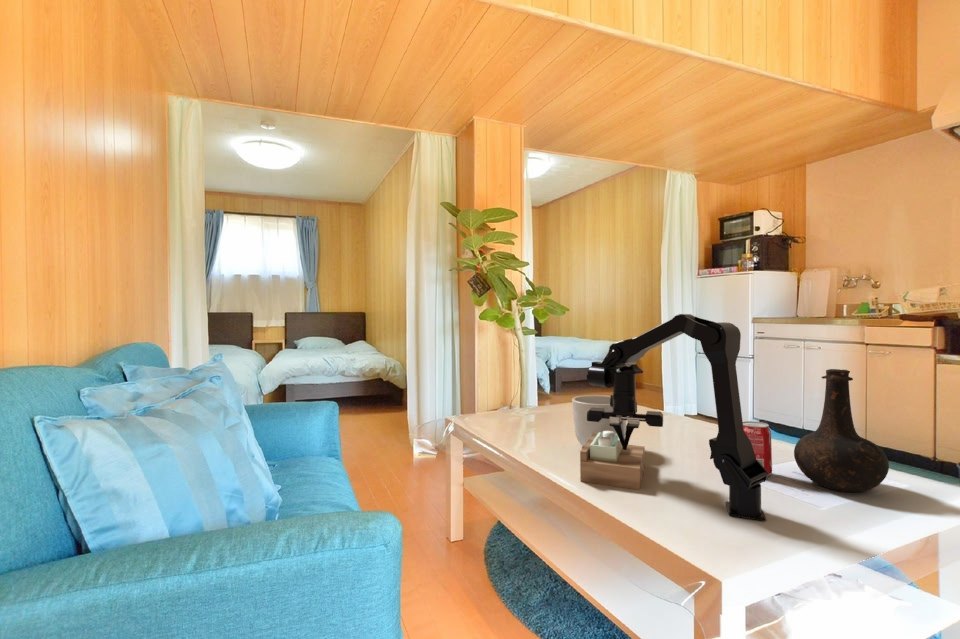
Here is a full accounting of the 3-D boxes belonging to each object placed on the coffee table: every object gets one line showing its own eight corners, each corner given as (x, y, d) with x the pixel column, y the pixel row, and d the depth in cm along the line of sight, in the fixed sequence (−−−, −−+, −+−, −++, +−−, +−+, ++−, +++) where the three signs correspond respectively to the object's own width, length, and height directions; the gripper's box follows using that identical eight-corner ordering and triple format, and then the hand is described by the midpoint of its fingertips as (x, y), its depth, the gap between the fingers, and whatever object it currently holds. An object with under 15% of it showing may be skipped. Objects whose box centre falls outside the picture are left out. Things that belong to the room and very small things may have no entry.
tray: (616, 461, 110) (616, 443, 110) (590, 458, 113) (589, 440, 113) (622, 447, 123) (622, 430, 123) (599, 444, 125) (598, 428, 125)
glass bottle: (843, 503, 96) (842, 375, 96) (776, 475, 114) (775, 366, 114) (911, 497, 99) (910, 372, 99) (835, 471, 117) (834, 365, 117)
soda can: (777, 479, 111) (776, 427, 111) (745, 477, 112) (745, 426, 113) (765, 470, 118) (764, 421, 118) (735, 468, 119) (735, 420, 119)
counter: (639, 489, 105) (639, 458, 105) (580, 481, 111) (580, 451, 111) (644, 464, 123) (644, 437, 123) (593, 458, 129) (593, 432, 129)
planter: (595, 458, 129) (595, 406, 129) (561, 444, 144) (561, 397, 144) (640, 451, 136) (639, 401, 136) (603, 438, 151) (603, 393, 151)
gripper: (663, 387, 120) (664, 445, 120) (593, 384, 127) (593, 438, 127) (662, 393, 109) (663, 456, 109) (586, 389, 117) (586, 448, 117)
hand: (625, 449), depth 116 cm, fingers closed
